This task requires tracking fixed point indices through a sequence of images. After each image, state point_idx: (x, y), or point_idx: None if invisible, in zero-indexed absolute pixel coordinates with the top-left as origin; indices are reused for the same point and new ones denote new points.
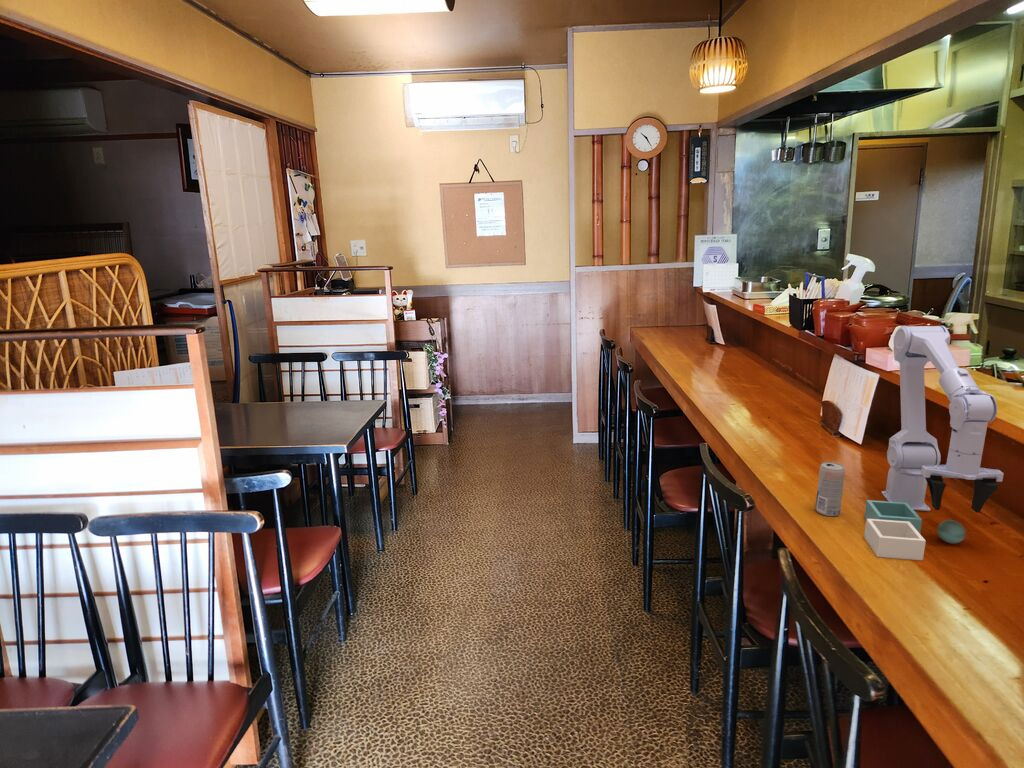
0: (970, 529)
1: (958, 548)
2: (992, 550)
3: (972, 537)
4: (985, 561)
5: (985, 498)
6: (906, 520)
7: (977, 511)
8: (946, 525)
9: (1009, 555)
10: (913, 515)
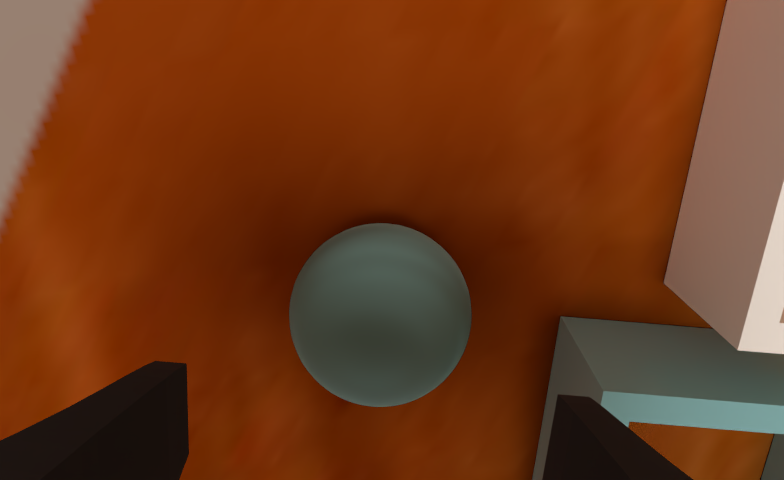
0: None
1: (369, 198)
2: (155, 190)
3: (204, 353)
4: (275, 22)
5: (18, 448)
6: (717, 392)
7: (171, 367)
8: (443, 315)
9: (73, 129)
10: None
